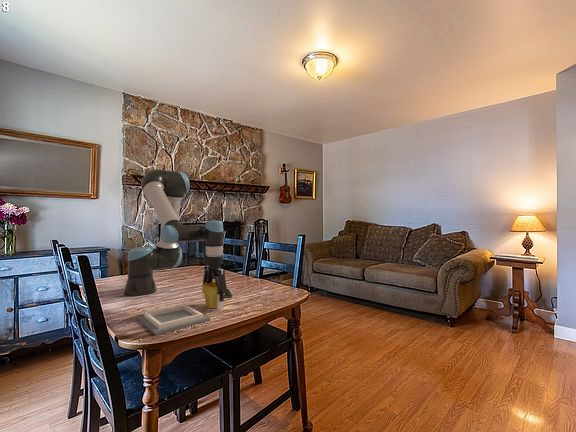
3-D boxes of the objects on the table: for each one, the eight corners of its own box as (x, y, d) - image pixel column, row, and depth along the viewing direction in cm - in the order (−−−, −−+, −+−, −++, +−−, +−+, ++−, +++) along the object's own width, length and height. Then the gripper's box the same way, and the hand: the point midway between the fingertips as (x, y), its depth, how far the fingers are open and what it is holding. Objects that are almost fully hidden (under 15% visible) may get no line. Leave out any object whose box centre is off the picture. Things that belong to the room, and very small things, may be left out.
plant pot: (208, 311, 123) (208, 288, 123) (198, 305, 130) (198, 283, 130) (230, 306, 129) (230, 284, 129) (219, 301, 137) (219, 280, 137)
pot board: (137, 319, 113) (137, 312, 113) (187, 308, 127) (187, 302, 127) (155, 335, 99) (155, 327, 99) (209, 320, 112) (209, 314, 112)
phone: (216, 297, 141) (213, 289, 156) (216, 299, 141) (213, 292, 156) (232, 295, 144) (228, 288, 158) (232, 298, 144) (228, 290, 158)
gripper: (235, 257, 124) (235, 309, 124) (209, 252, 141) (209, 298, 141) (219, 259, 119) (219, 313, 119) (194, 253, 136) (194, 301, 136)
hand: (214, 305), depth 130 cm, fingers closed on plant pot, 10 cm apart
